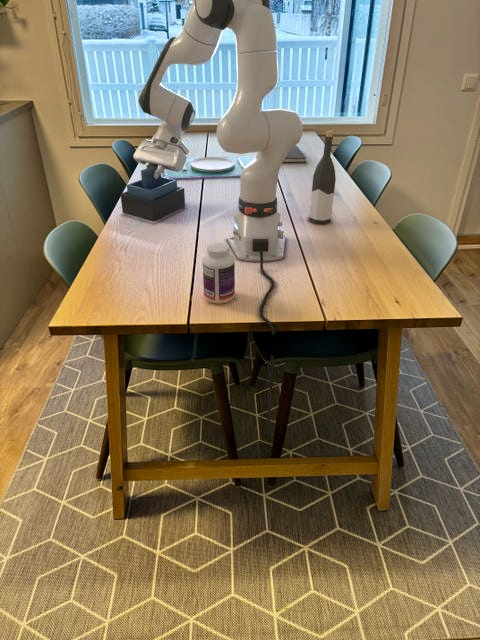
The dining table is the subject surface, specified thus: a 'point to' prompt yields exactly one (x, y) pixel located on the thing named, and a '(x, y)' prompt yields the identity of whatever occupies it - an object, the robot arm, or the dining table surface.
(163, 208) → the tote
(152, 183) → the caddy
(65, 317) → the dining table surface
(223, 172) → the place mat
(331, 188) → the wine bottle
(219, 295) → the pill bottle
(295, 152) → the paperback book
